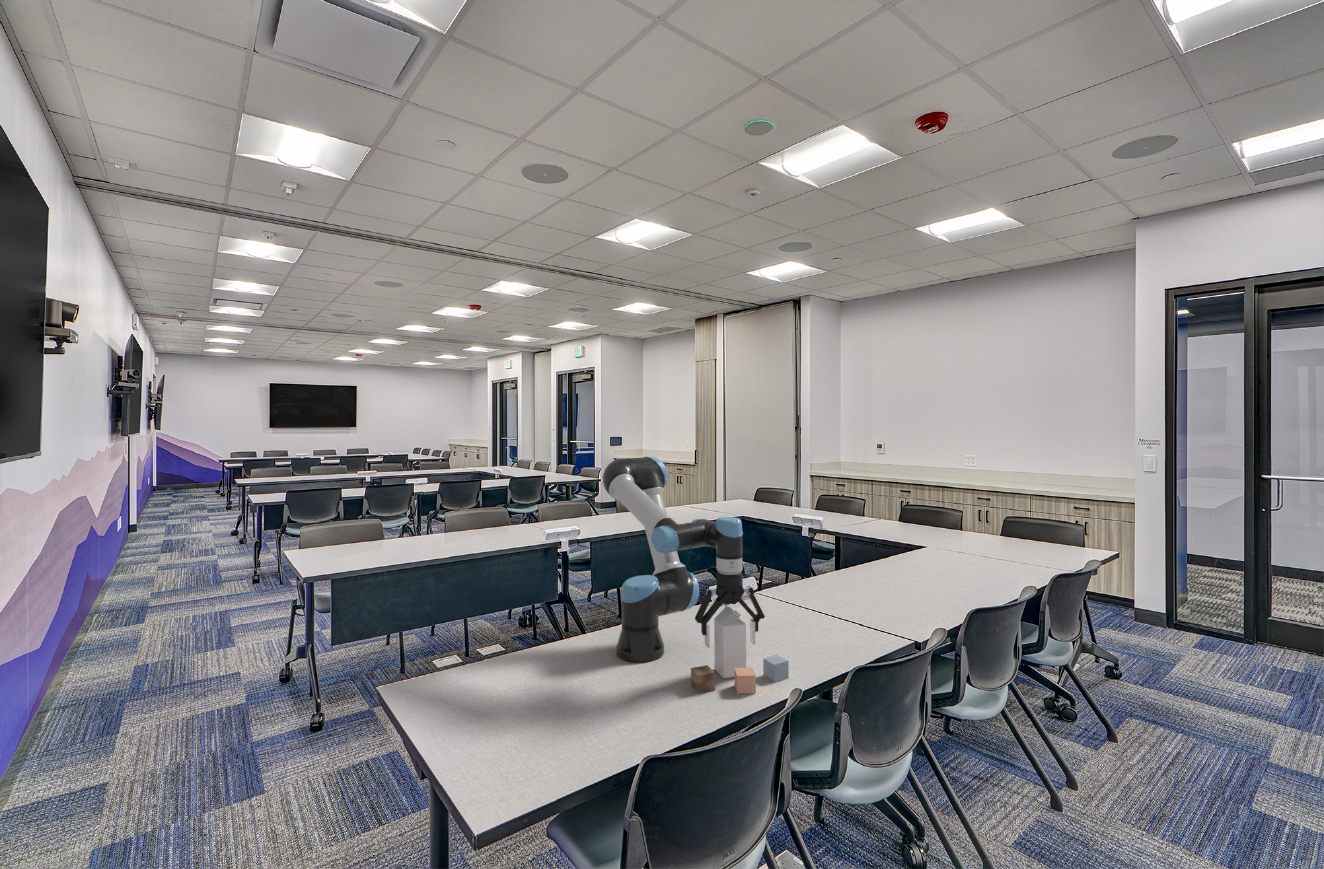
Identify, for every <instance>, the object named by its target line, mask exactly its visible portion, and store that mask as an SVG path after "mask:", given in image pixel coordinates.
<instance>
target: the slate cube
mask: <svg viewBox="0 0 1324 869" xmlns="http://www.w3.org/2000/svg"><path fill="white" fill-rule="evenodd" d="M762 662H763V664H762V668H763V669H762V670H763V673H762V675H763V676H764V677H765V678H767V679H769V681H772V682H774V683H777V682H779V681H780V682H781V681H783V680H788V679H789V677H790V676H789V667H790V666H789V660H787V659H786V658H784V657H782V656H780V655H778V654H775V655H772V656H768V657H763V659H762Z"/></svg>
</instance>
